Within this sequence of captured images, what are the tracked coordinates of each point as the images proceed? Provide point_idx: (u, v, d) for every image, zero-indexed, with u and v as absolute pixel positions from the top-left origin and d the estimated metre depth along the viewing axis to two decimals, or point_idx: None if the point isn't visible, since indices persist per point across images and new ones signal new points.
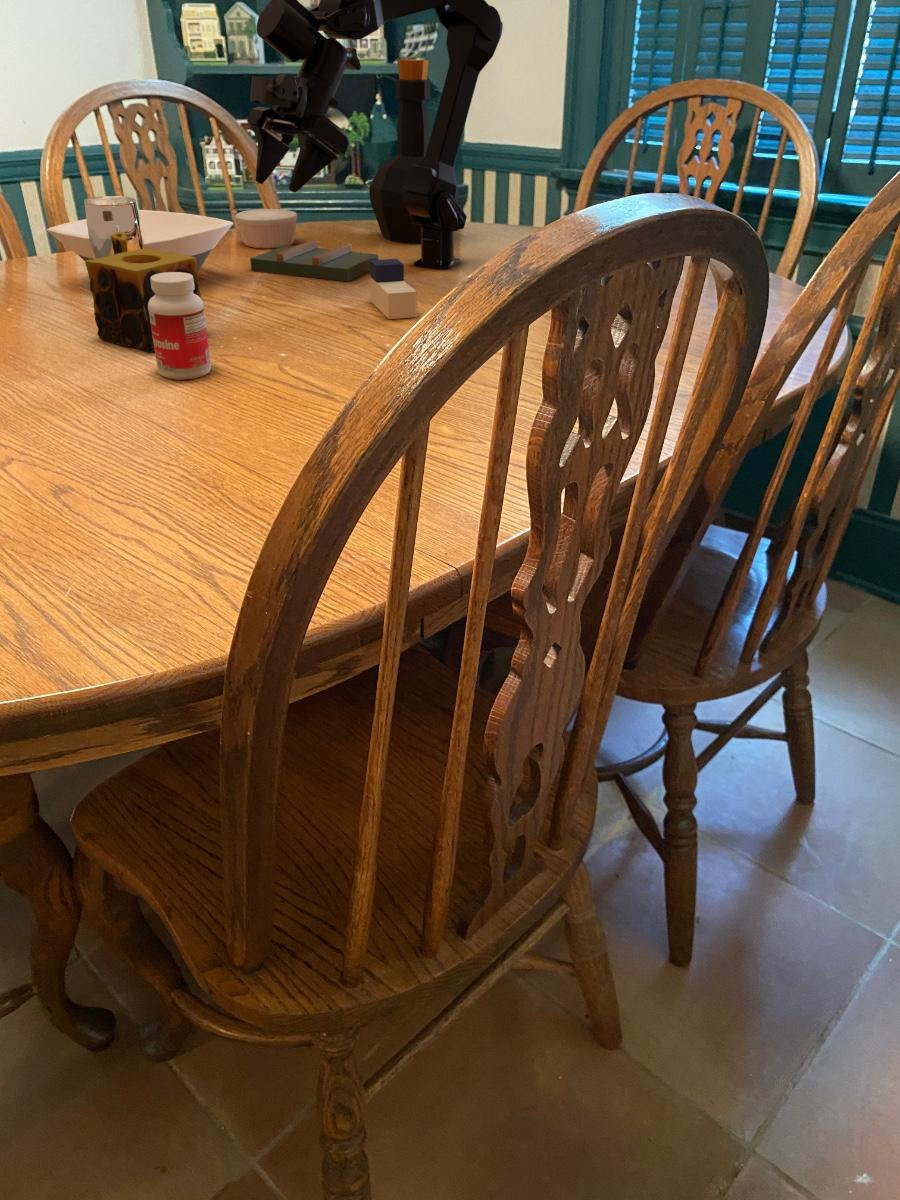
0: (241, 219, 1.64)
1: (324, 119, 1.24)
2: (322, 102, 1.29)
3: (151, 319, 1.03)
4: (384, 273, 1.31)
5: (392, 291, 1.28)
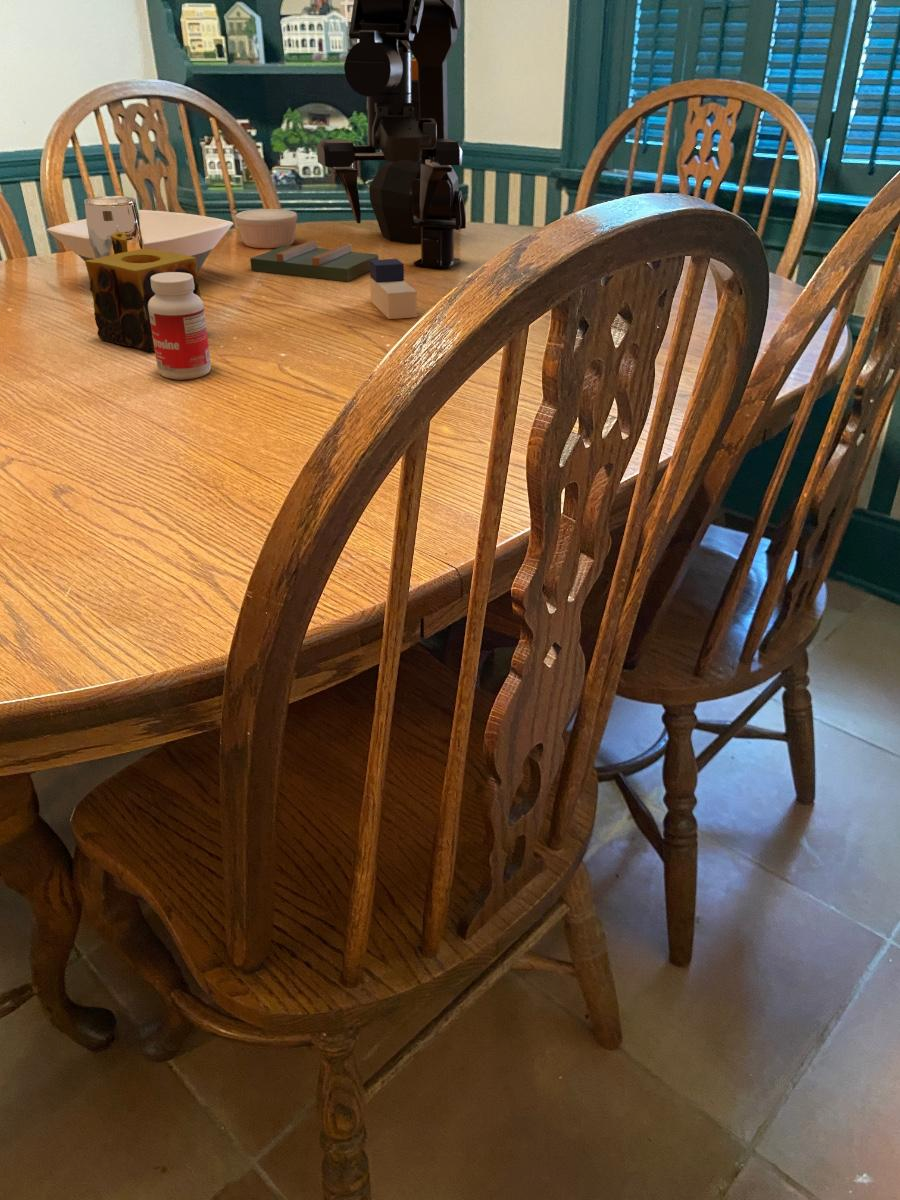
0: (241, 219, 1.64)
1: (459, 146, 1.21)
2: None
3: (151, 319, 1.03)
4: (384, 273, 1.31)
5: (392, 291, 1.28)
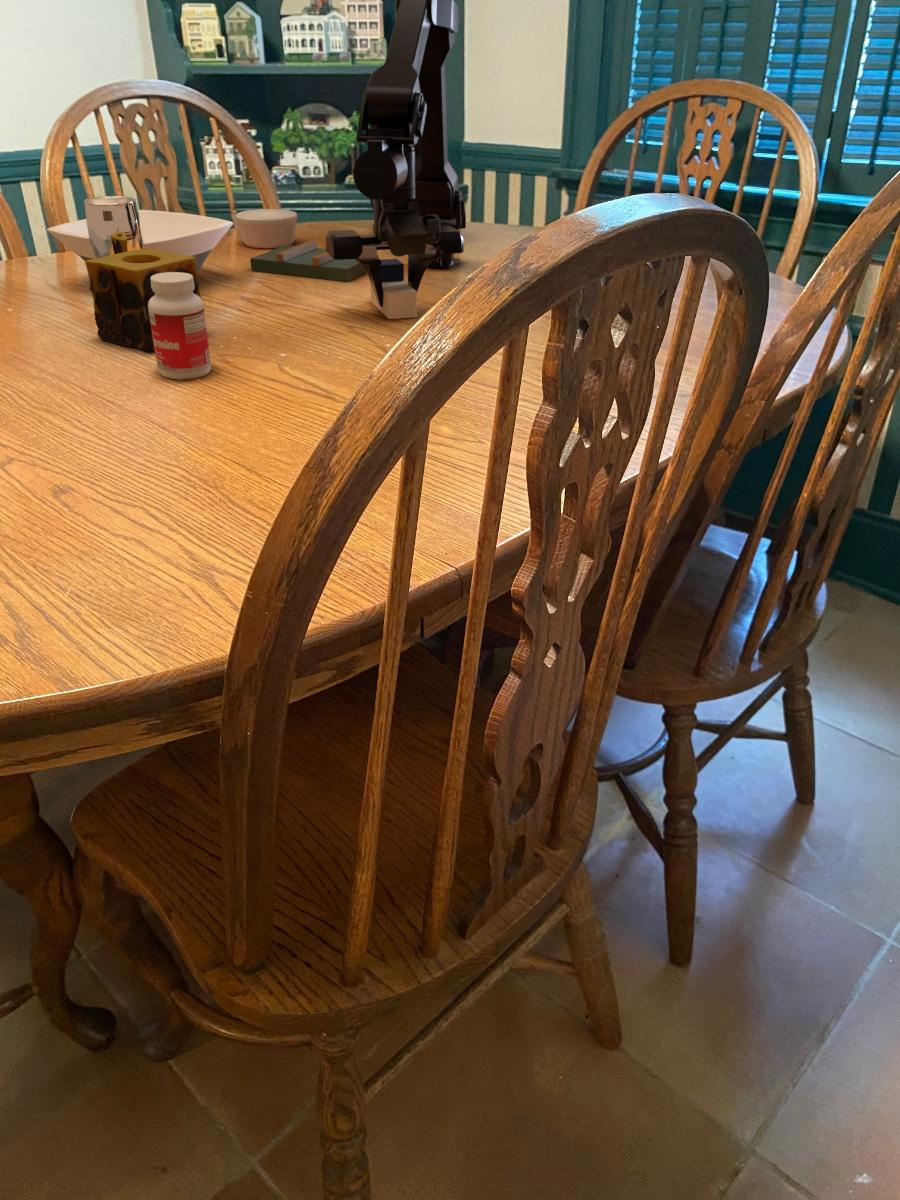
0: (241, 219, 1.64)
1: (461, 235, 1.27)
2: None
3: (151, 319, 1.03)
4: (384, 273, 1.31)
5: (392, 291, 1.28)
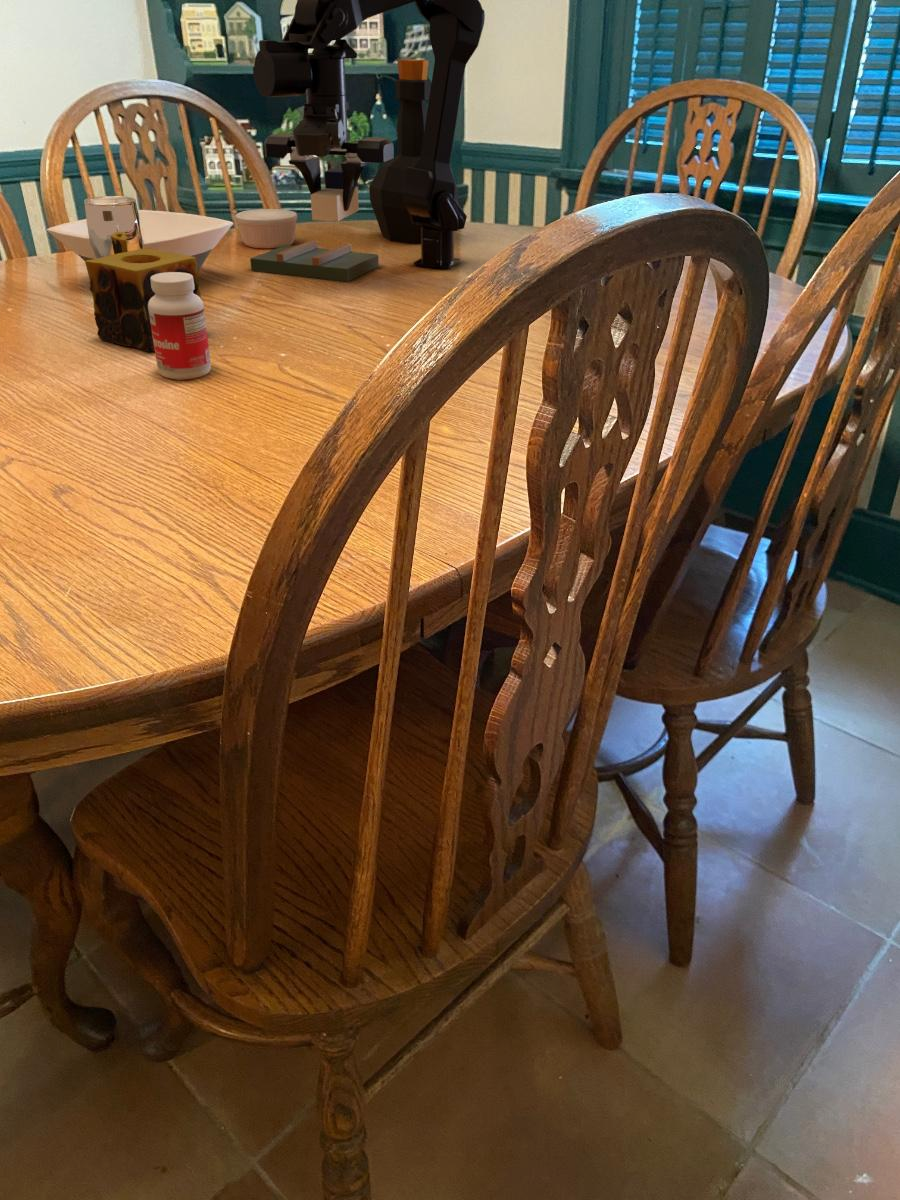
0: (241, 219, 1.64)
1: (381, 145, 1.31)
2: (346, 115, 1.33)
3: (151, 319, 1.03)
4: (332, 180, 1.41)
5: (318, 193, 1.37)
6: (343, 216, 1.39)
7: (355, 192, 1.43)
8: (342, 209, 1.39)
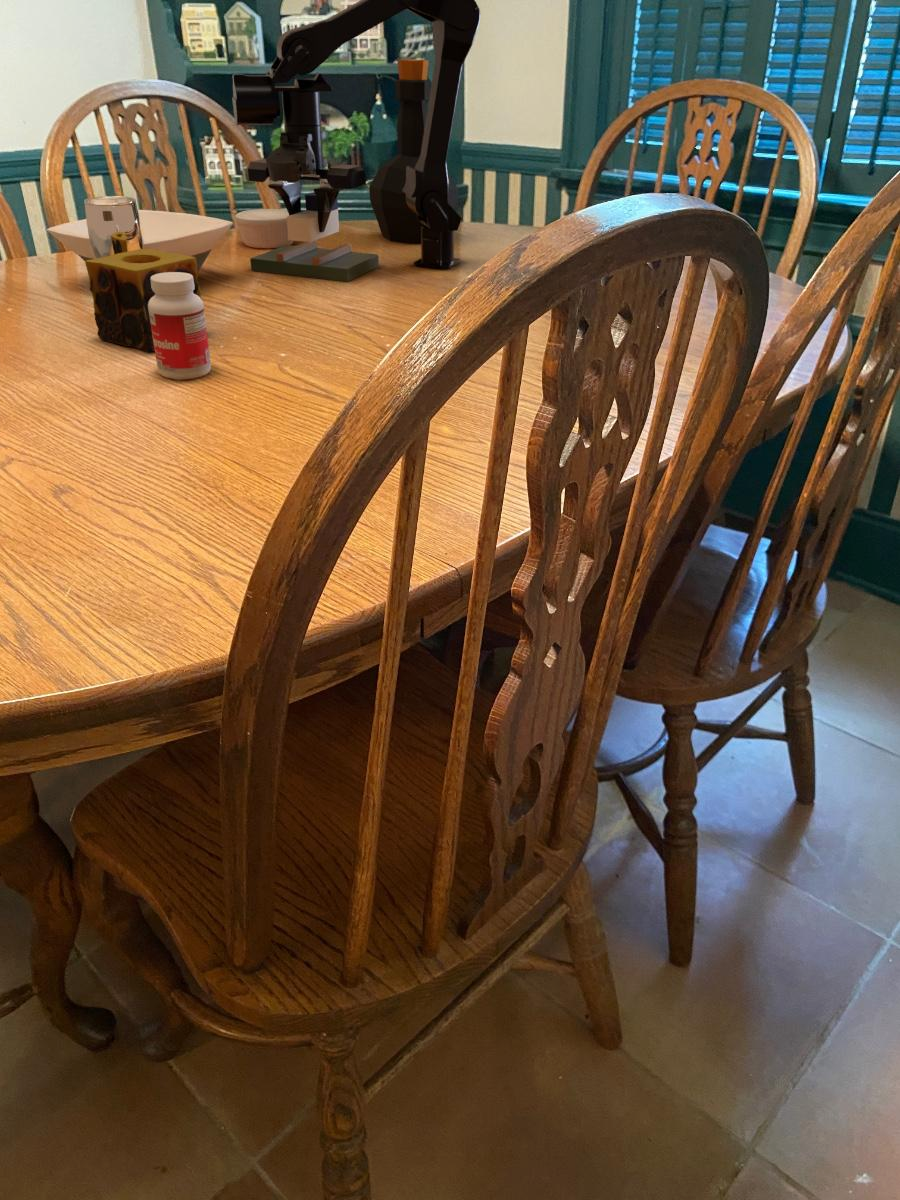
0: (241, 219, 1.64)
1: (349, 172, 1.40)
2: (320, 143, 1.42)
3: (151, 319, 1.03)
4: (311, 202, 1.50)
5: (294, 216, 1.46)
6: (318, 237, 1.48)
7: (334, 214, 1.52)
8: (317, 230, 1.47)
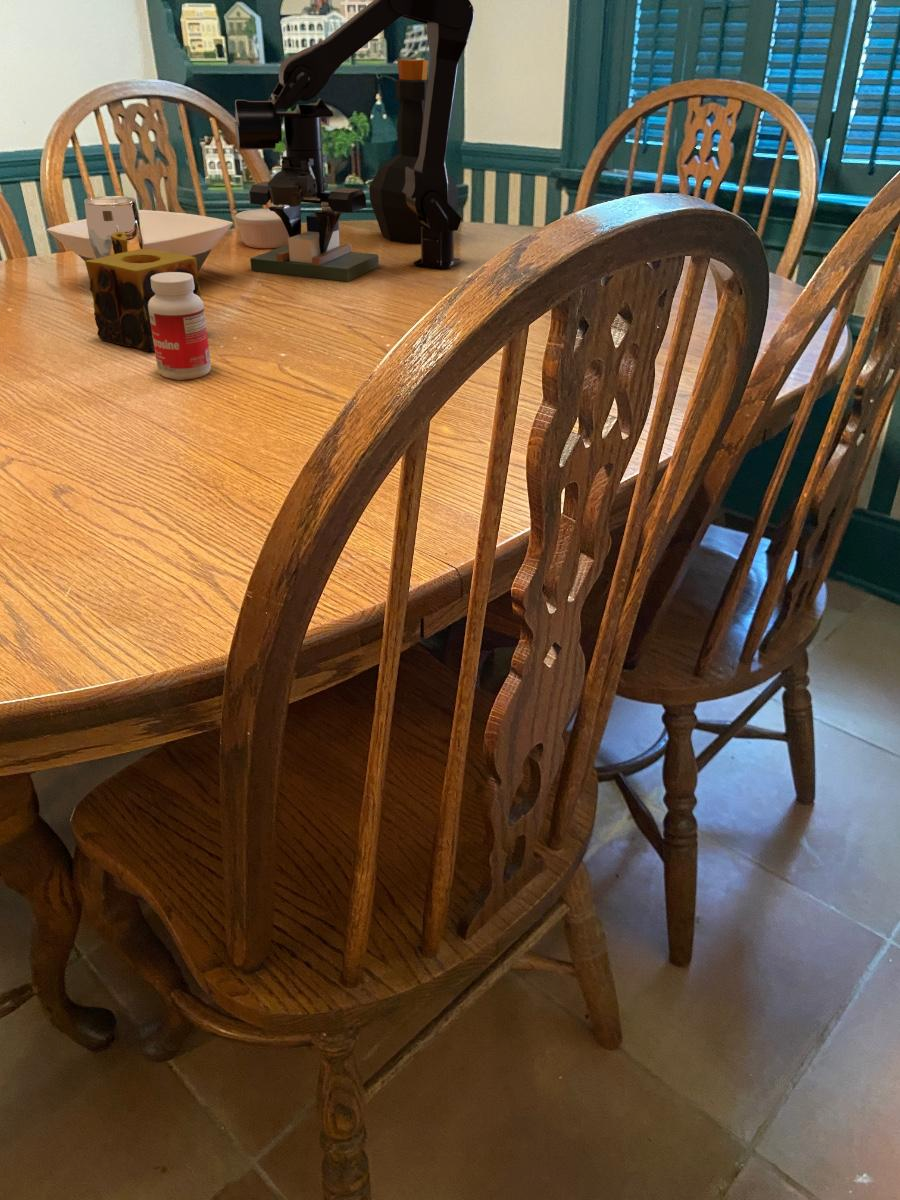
0: (241, 219, 1.64)
1: (350, 196, 1.42)
2: (321, 167, 1.43)
3: (151, 319, 1.03)
4: (313, 224, 1.52)
5: (295, 237, 1.48)
6: None
7: (335, 235, 1.53)
8: (318, 252, 1.49)
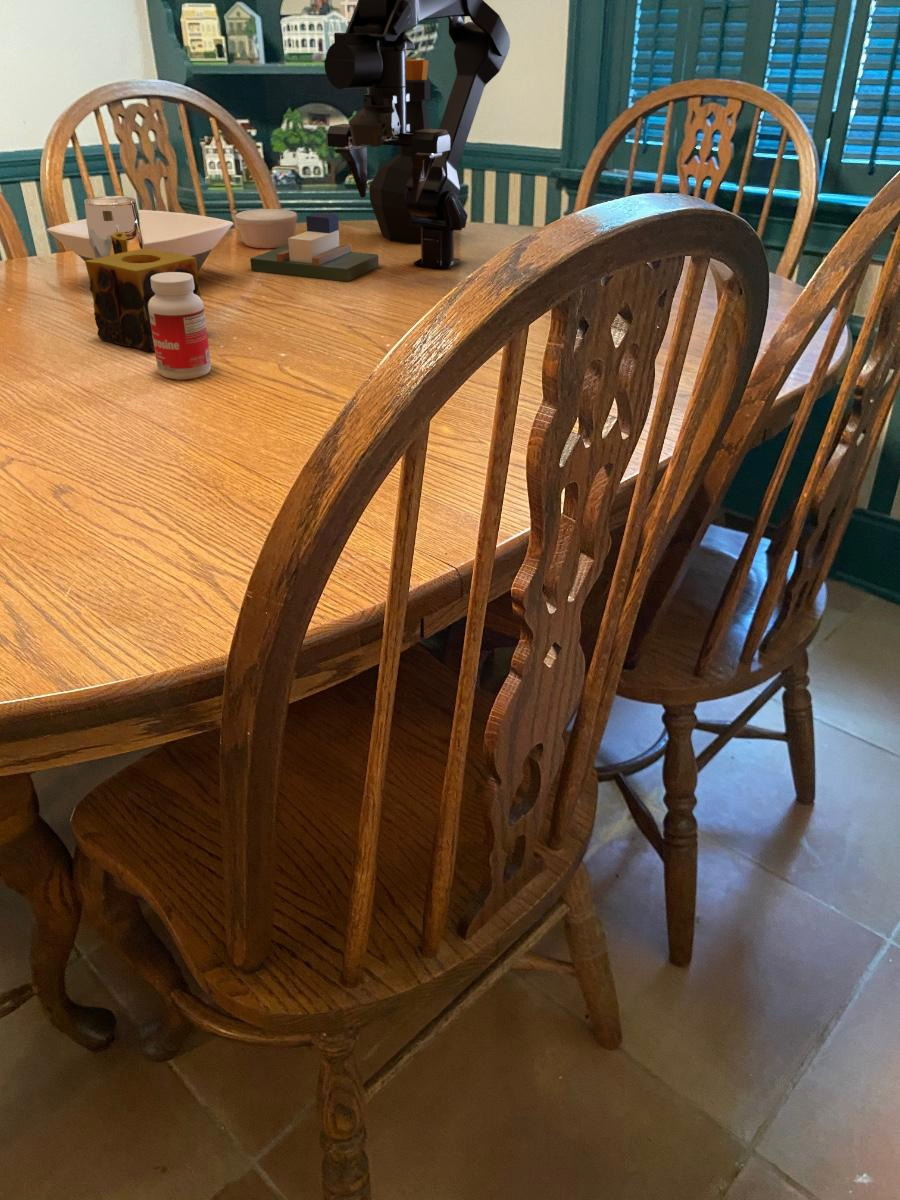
0: (241, 219, 1.64)
1: (435, 136, 1.33)
2: (404, 106, 1.35)
3: (151, 319, 1.03)
4: (313, 224, 1.52)
5: (295, 237, 1.48)
6: None
7: (335, 235, 1.53)
8: (318, 252, 1.49)
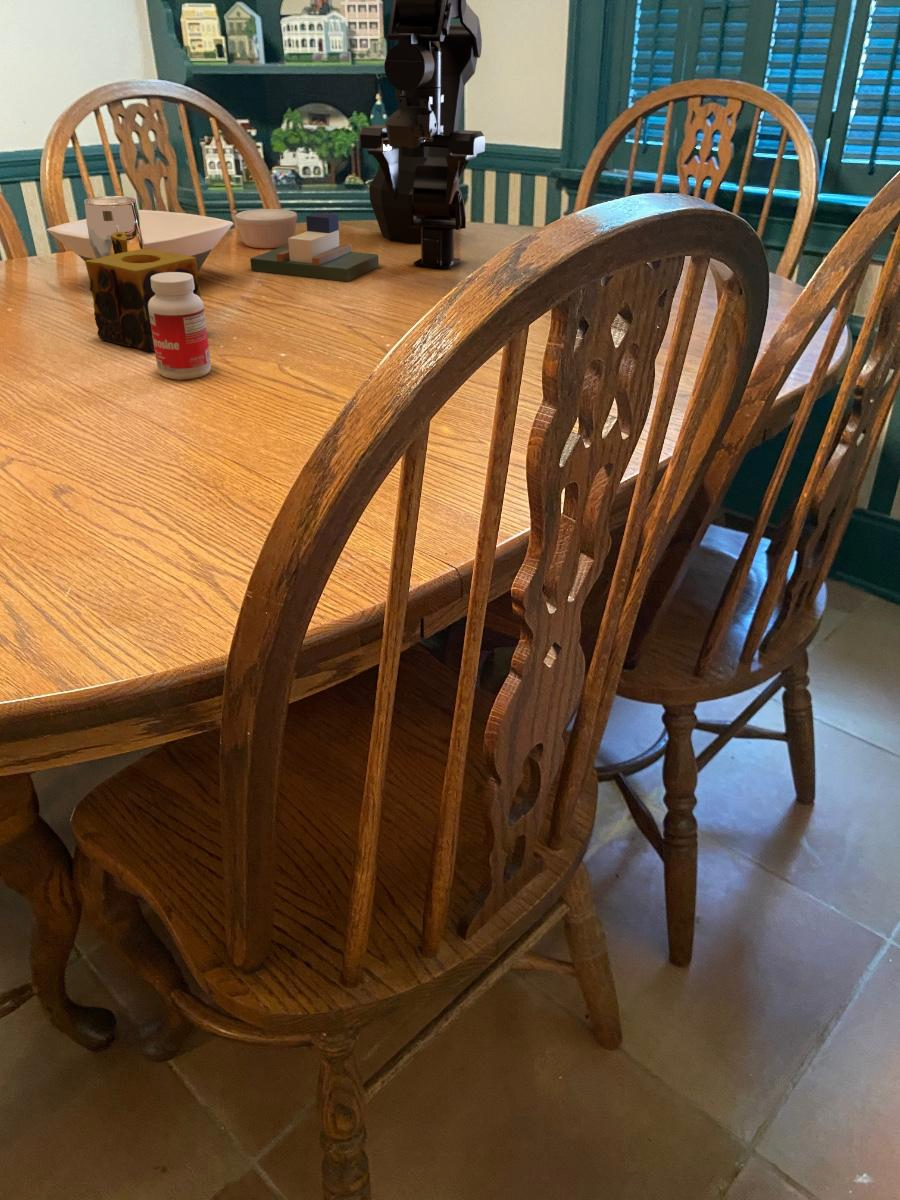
0: (241, 219, 1.64)
1: (472, 137, 1.32)
2: (439, 107, 1.34)
3: (151, 319, 1.03)
4: (313, 224, 1.52)
5: (295, 237, 1.48)
6: None
7: (335, 235, 1.53)
8: (318, 252, 1.49)
